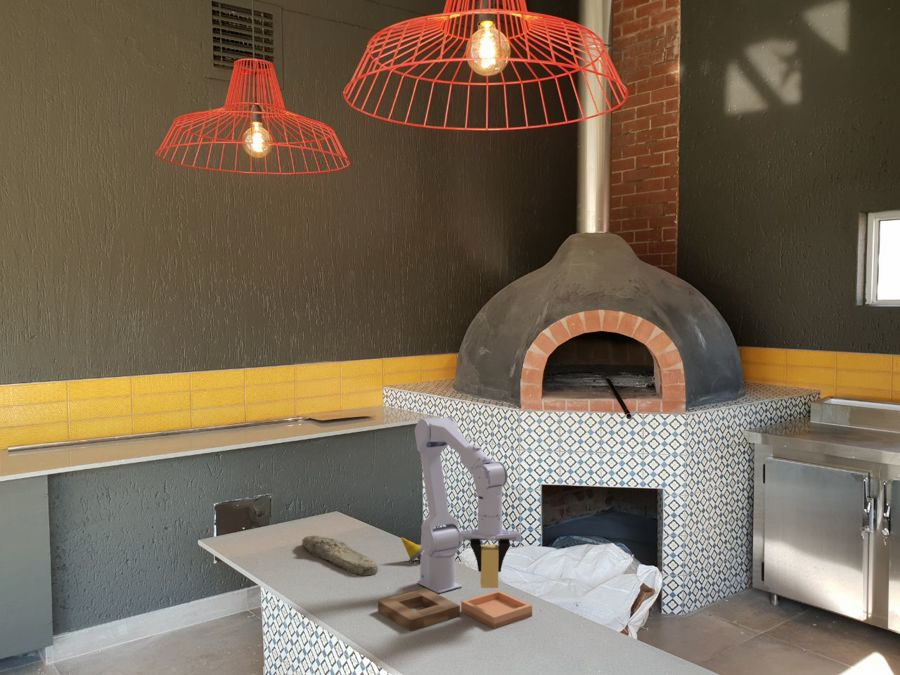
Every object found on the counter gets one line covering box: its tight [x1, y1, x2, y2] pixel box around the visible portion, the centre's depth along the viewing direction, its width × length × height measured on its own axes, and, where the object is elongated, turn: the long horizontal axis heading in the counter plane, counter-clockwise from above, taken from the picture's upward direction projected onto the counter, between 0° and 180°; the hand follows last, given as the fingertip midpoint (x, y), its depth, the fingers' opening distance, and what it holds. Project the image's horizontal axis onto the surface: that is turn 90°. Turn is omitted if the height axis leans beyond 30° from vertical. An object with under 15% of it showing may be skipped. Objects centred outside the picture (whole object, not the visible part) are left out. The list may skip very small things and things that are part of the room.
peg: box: [480, 544, 499, 589], centre depth 179 cm, size 4×4×9 cm
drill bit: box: [400, 536, 424, 563], centre depth 216 cm, size 5×5×10 cm
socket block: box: [377, 587, 461, 632], centre depth 179 cm, size 14×14×2 cm
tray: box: [460, 590, 533, 629], centre depth 179 cm, size 12×12×2 cm
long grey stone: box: [301, 535, 379, 576], centre depth 217 cm, size 35×5×10 cm
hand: (489, 570), depth 179 cm, fingers closed on peg, 4 cm apart
